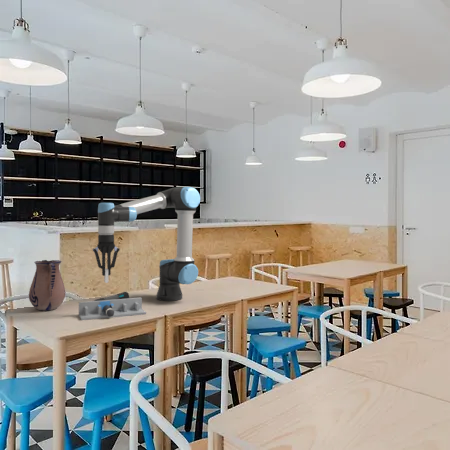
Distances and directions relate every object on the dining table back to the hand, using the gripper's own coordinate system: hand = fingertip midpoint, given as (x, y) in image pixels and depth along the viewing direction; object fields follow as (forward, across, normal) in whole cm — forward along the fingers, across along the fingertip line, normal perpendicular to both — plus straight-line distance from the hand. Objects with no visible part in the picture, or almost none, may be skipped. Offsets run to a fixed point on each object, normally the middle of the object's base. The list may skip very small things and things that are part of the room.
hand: (106, 282), depth 219 cm
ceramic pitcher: (+17, +25, -23) cm, 38 cm away
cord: (+15, 0, +3) cm, 16 cm away
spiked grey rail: (+16, -3, +1) cm, 17 cm away
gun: (+17, -6, -19) cm, 26 cm away
